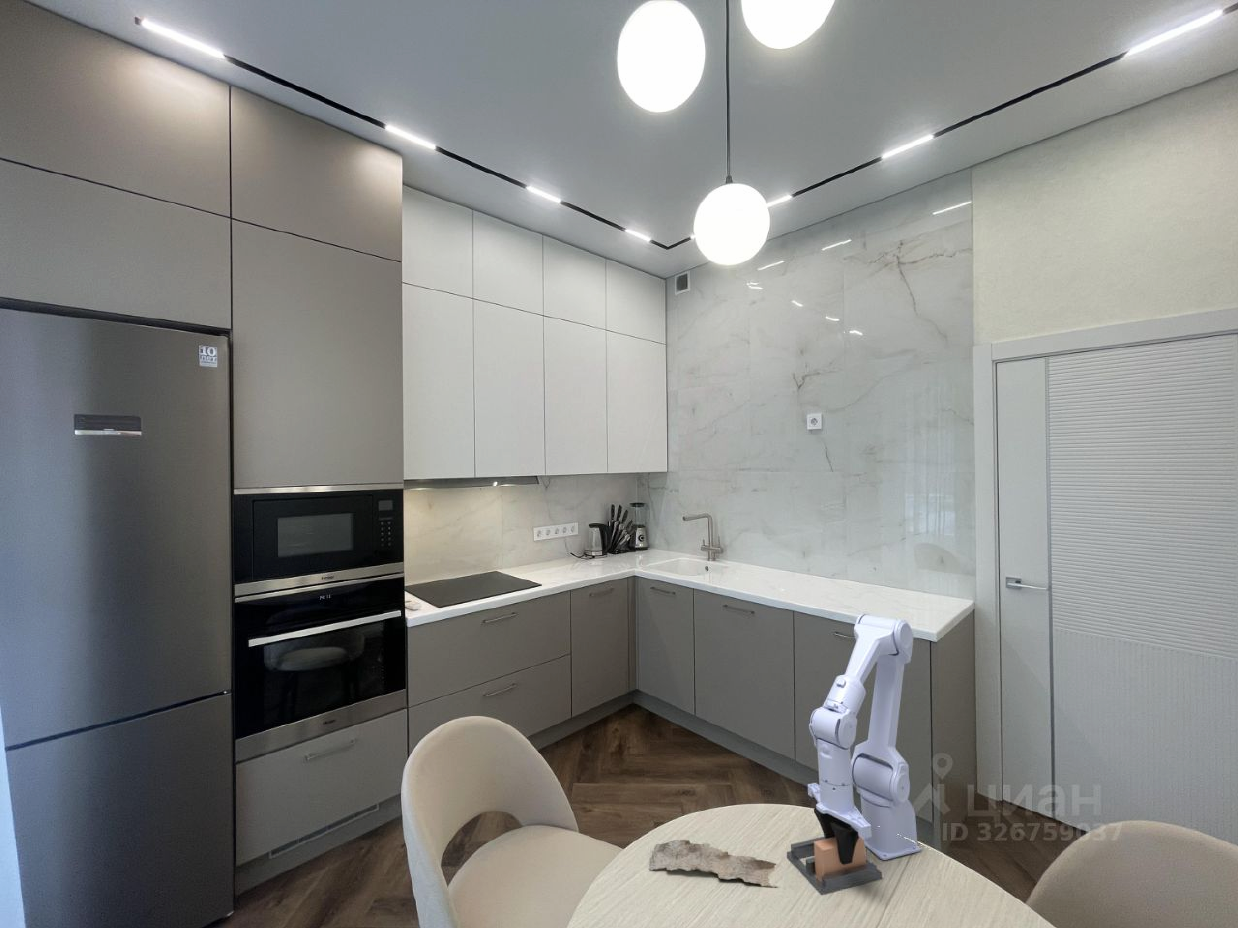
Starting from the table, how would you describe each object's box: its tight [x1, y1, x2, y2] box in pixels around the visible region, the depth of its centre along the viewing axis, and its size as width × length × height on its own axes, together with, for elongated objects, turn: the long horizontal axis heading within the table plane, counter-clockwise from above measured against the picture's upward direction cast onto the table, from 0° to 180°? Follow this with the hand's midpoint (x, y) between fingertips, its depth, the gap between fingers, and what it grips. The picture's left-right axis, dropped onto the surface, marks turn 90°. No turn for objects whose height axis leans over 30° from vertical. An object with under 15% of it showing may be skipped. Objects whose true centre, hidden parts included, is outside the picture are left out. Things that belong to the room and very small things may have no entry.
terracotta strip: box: [814, 837, 867, 883], centre depth 90 cm, size 9×2×6 cm, turn 106°
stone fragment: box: [648, 839, 780, 889], centre depth 93 cm, size 25×3×10 cm
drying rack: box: [786, 836, 883, 896], centre depth 92 cm, size 13×10×2 cm
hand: (840, 856), depth 91 cm, fingers closed on terracotta strip, 2 cm apart
